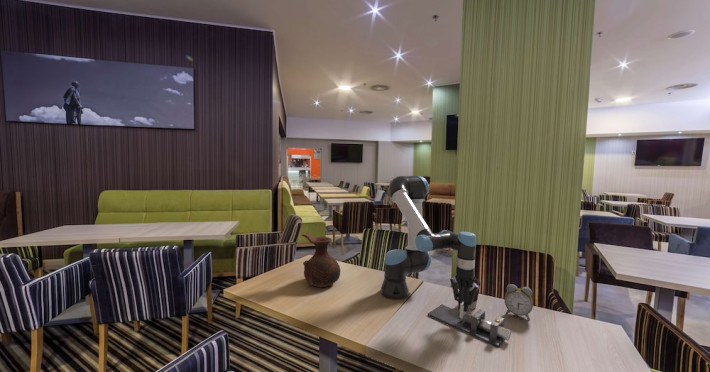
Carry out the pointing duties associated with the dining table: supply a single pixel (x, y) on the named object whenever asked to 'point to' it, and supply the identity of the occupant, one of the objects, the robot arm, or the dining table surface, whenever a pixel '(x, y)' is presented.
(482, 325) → the tube
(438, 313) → the grey holder stand
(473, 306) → the coffee cup
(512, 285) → the alarm clock
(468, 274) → the robot arm
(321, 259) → the jug
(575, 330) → the dining table surface
